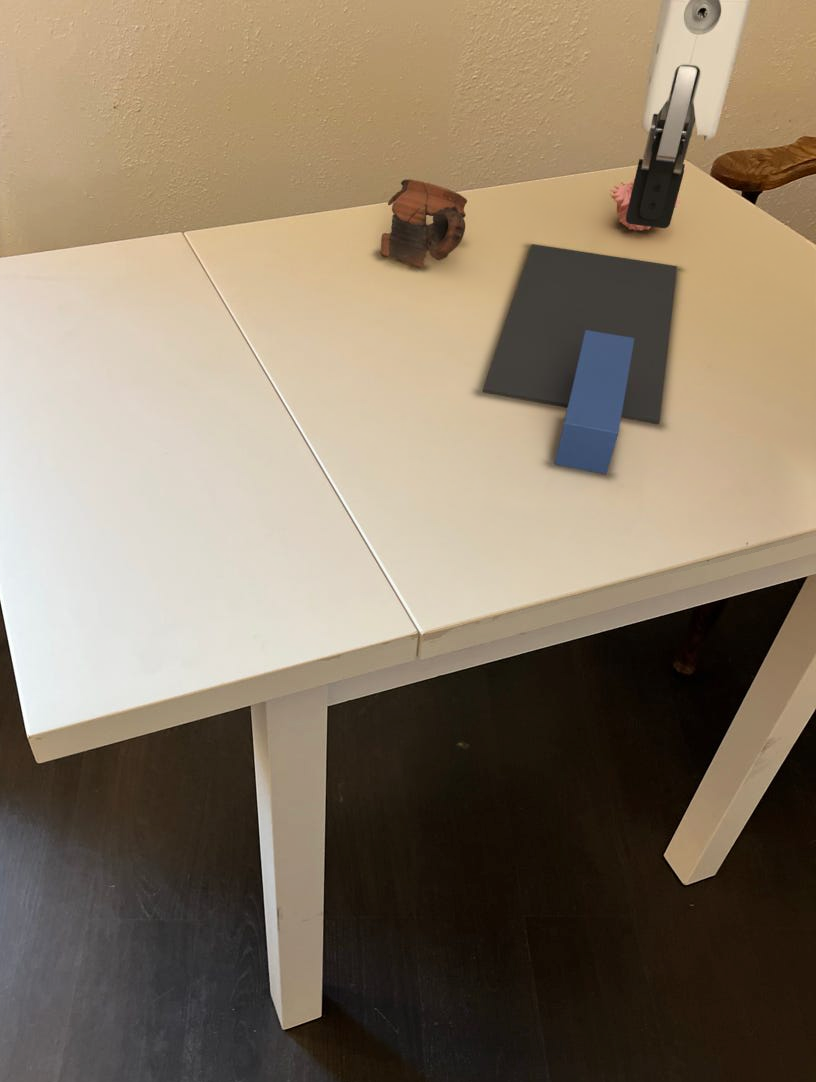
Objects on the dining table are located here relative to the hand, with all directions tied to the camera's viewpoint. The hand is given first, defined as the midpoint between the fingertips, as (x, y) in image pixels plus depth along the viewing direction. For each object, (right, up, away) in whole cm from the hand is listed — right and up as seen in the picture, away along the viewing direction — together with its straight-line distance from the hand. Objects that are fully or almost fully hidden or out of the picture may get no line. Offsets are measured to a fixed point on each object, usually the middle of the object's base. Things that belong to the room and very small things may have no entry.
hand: (647, 221), depth 71 cm
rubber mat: (+2, +1, +25) cm, 25 cm away
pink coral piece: (+12, +17, +40) cm, 45 cm away
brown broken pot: (-13, +12, +35) cm, 39 cm away
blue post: (-2, -15, +8) cm, 18 cm away
